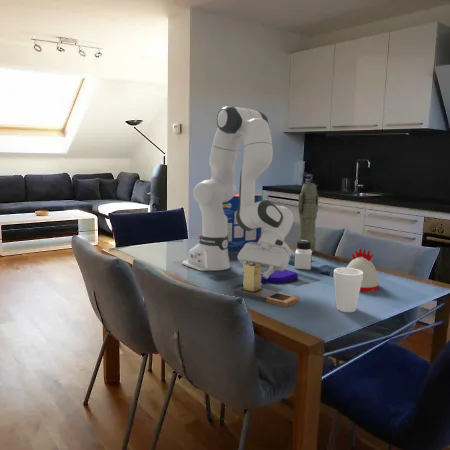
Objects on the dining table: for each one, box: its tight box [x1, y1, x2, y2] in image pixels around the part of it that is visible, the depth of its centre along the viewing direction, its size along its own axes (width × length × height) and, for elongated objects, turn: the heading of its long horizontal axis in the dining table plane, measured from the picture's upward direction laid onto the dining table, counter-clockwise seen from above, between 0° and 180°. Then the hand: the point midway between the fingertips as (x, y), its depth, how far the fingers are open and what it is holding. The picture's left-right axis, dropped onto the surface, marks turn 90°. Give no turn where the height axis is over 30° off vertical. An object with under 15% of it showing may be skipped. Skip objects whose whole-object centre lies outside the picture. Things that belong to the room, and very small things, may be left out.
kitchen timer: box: [345, 248, 380, 293], centre depth 180 cm, size 14×14×15 cm
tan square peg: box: [243, 263, 262, 293], centre depth 168 cm, size 4×4×11 cm
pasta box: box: [222, 193, 263, 252], centre depth 242 cm, size 28×8×28 cm, turn 117°
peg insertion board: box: [234, 285, 299, 308], centre depth 165 cm, size 22×8×2 cm, turn 51°
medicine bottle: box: [294, 240, 313, 270], centre depth 207 cm, size 7×7×12 cm
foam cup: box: [333, 267, 363, 313], centre depth 154 cm, size 10×9×13 cm
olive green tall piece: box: [297, 182, 319, 253], centre depth 237 cm, size 9×12×35 cm
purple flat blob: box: [242, 268, 299, 286], centre depth 185 cm, size 3×11×24 cm
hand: (253, 275), depth 168 cm, fingers open, 8 cm apart
